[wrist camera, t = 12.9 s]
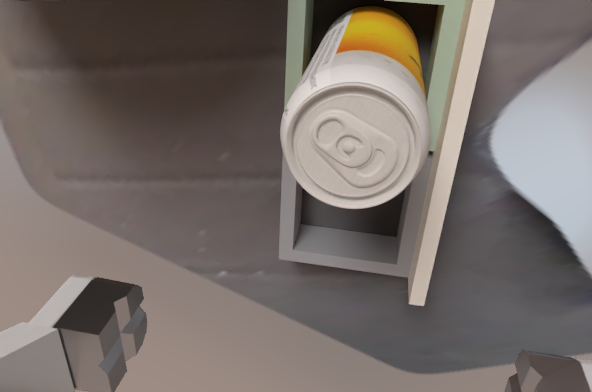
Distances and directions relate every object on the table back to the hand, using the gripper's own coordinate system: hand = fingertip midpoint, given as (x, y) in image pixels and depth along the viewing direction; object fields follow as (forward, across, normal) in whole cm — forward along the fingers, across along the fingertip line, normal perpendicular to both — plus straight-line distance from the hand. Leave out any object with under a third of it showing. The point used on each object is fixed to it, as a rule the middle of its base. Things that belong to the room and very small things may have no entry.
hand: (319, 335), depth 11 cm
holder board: (+25, 0, +5) cm, 25 cm away
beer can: (+25, 0, 0) cm, 25 cm away
